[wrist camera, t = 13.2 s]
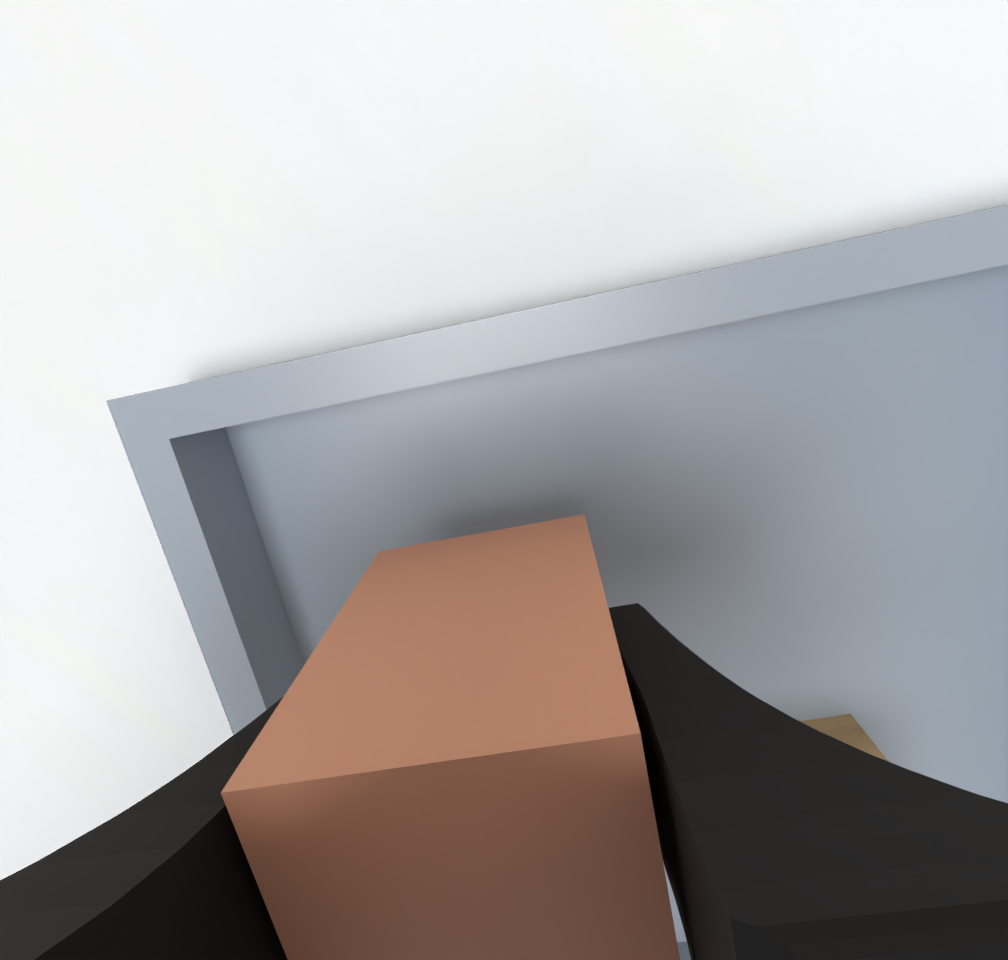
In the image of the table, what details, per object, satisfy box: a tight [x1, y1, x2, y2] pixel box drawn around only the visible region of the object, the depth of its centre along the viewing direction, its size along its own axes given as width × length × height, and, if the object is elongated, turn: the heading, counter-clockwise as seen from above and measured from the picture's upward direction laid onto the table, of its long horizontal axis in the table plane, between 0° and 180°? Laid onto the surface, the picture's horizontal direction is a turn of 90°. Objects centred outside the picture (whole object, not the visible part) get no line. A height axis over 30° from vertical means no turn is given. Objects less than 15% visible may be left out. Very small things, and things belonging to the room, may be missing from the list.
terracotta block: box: [221, 514, 680, 960], centre depth 9 cm, size 4×4×6 cm
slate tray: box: [107, 205, 1008, 960], centre depth 15 cm, size 20×20×3 cm
